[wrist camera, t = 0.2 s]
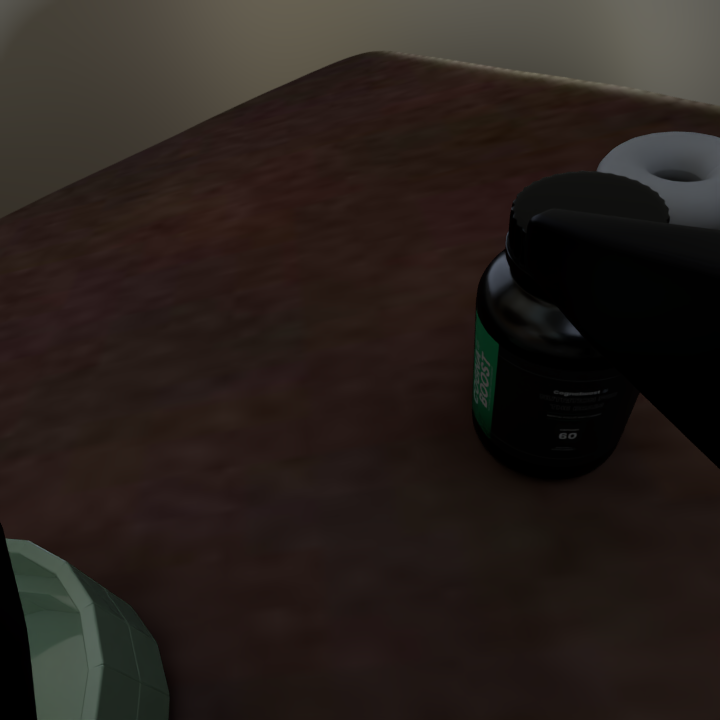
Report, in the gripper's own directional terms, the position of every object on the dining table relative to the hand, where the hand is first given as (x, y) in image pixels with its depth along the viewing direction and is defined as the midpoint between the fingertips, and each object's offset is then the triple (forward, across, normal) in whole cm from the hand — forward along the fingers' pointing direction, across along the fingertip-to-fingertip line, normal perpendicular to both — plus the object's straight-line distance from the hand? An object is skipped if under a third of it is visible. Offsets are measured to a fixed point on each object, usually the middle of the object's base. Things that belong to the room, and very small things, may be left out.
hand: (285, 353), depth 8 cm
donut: (+15, -30, +16) cm, 38 cm away
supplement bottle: (+5, -12, +17) cm, 21 cm away
